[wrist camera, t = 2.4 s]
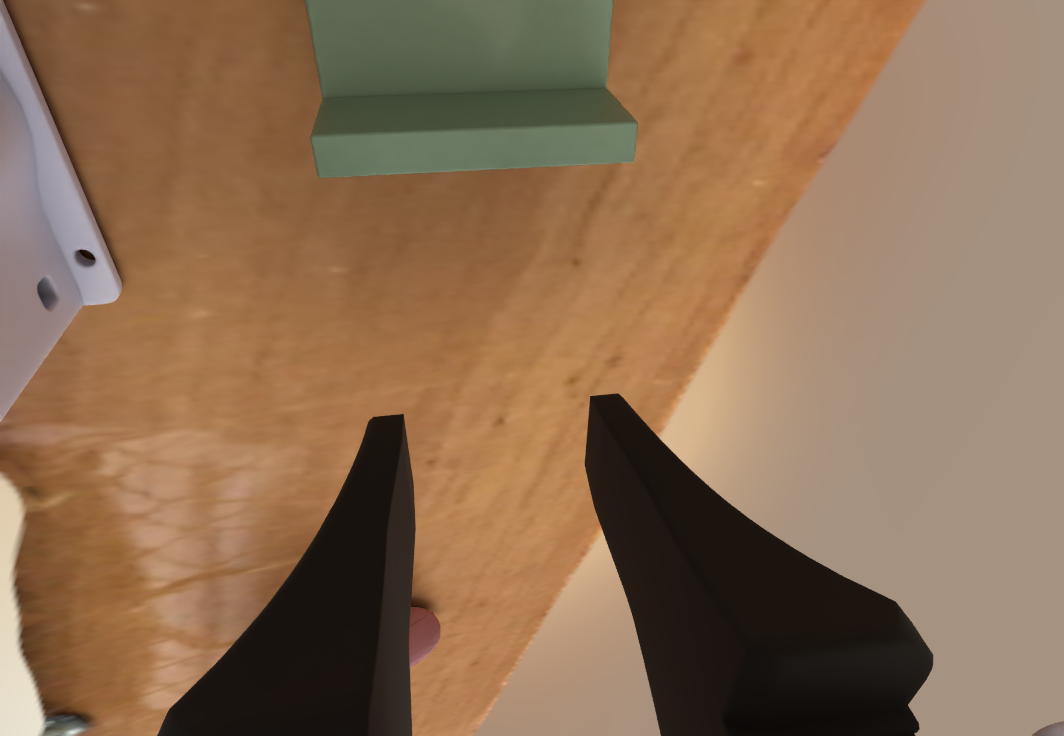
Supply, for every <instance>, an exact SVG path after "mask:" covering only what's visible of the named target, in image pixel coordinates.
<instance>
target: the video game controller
mask: <svg viewBox="0 0 1064 736" xmlns="http://www.w3.org/2000/svg"><path fill="white" fill-rule="evenodd" d="M439 638H440V623H439V621H438V619H437V618H436V616H435V615H434V614H433V612H431V611H429V610H427V609H424V608H420V607H411V611H410V628H409V660H410V668H411V667H412V666H414V665H415V664H417V663H418V662H420V661H421V660H423V659H424V658H425V657H427V656H428V655H429V654H430V653H431V652H432V651H433V649H434V648H435V646H436V645H437V643H438V641H439Z"/></svg>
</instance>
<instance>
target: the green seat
mask: <svg viewBox="0 0 1064 736" xmlns="http://www.w3.org/2000/svg"><path fill="white" fill-rule="evenodd" d="M305 2H306V8H307V13H308V19H309V25H310V30H311V36H312V42H313V47H314V53H315V59H316V65H317V70H318V76H319V82H320V87H321V93H322V102H321V105H320V108H319V111H318V114H317V118H316V121H315V124H314V127H313V130H312V133H311V137H310V139H311V144H312V149H313V154H314V160H315V165H316V170H317V175H318V177H319V178H331V177H352V176H372V175H392V174H412V173H432V172H453V171H473V170H493V169H513V168H534V167H554V166H574V165H594V164H614V163H632V162H633V161H634V157H635V147H636V138H637V128H638V123H637V121H636V120H635V119H634V118H633V117H632V115H631V114H630V113H629V112H628V111H627V110H626V109H625V108H624V107H623V106H622V105H621V103H620V102H619V101H618V100H617V99H616V98H615V97H614V96H613V95H612V94H611V92H610V91H609V90H608V89H607V75H608V62H609V48H610V35H611V21H612V8H613V0H305Z"/></svg>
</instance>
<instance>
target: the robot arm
mask: <svg viewBox="0 0 1064 736" xmlns="http://www.w3.org/2000/svg"><path fill="white" fill-rule="evenodd" d="M80 249H83V250H87V251H89V252H91V253H92V254H93V255H94V257H95V260H90V259H87V258H85V257H83V256H82V254H81V253H80V252H79V250H80ZM122 288H123V287H122V282H121V280H120V277H119V275H118V272H117V270H116V268H115V265H114V263H113V261H112V258H111V256H110V253H109V251H108V249H107V246H106V244H105V241H104V239H103V237H102V234H101V232H100V230H99V227H98V225H97V222H96V220H95V218H94V215H93V213H92V211H91V208H90V206H89V203H88V201H87V199H86V196H85V194H84V192H83V189H82V187H81V184H80V182H79V180H78V177H77V175H76V173H75V170H74V168H73V165H72V163H71V161H70V158H69V156H68V154H67V151H66V149H65V146H64V144H63V142H62V139H61V137H60V134H59V132H58V130H57V127H56V125H55V123H54V120H53V118H52V115H51V113H50V111H49V108H48V106H47V104H46V101H45V99H44V96H43V94H42V92H41V89H40V87H39V85H38V82H37V80H36V77H35V75H34V73H33V70H32V68H31V66H30V63H29V61H28V58H27V56H26V54H25V51H24V49H23V46H22V44H21V42H20V39H19V37H18V35H17V32H16V30H15V27H14V25H13V23H12V20H11V18H10V16H9V13H8V11H7V8H6V6H5V4H4V1H3V0H0V422H1V420H2V419H3V418H4V416H5V415H6V413H7V412H8V410H9V409H10V408H11V406H12V405H13V403H14V402H15V401H16V399H17V398H18V396H19V395H20V394H21V392H22V391H23V389H24V388H25V386H26V385H27V384H28V382H29V381H30V379H31V378H32V377H33V375H34V374H35V372H36V371H37V370H38V368H39V367H40V365H41V364H42V363H43V361H44V360H45V358H46V357H47V355H48V354H49V353H50V351H51V350H52V348H53V347H54V346H55V344H56V343H57V341H58V340H59V339H60V337H61V336H62V334H63V333H64V332H65V330H66V329H67V327H68V326H69V324H70V323H71V322H72V320H73V319H74V317H75V316H76V315H77V313H78V312H79V310H80V309H81V308H82V306H83V305H96V304H107V303H111V302H113V301H115V300H116V299H117V298H118V297H119V295H120V293H121V291H122ZM585 468H586V473H587V477H588V482H589V486H590V491H591V495H592V499H593V504H594V507H595V510H596V513H597V516H598V519H599V522H600V525H601V527H602V530H603V533H604V536H605V539H606V541H607V544H608V547H609V550H610V552H611V555H612V558H613V561H614V563H615V566H616V569H617V572H618V574H619V577H620V580H621V583H622V585H623V588H624V591H625V594H626V597H627V599H628V603H629V606H630V609H631V612H632V616H633V619H634V623H635V627H636V631H637V635H638V639H639V643H640V647H641V651H642V655H643V659H644V663H645V668H646V672H647V676H648V680H649V685H650V688H651V693H652V697H653V701H654V706H655V711H656V715H657V720H658V724H659V729H660V734H661V736H915V734H914V733H916V732H917V731H918V730H919V723H918V721H917V720H916V718H915V716H914V715H913V713H912V711H911V710H910V708H909V706H908V704H909V703H910V701H911V700H912V699H913V697H914V696H915V694H916V693H917V691H918V690H919V689H920V688H921V686H922V685H923V683H924V682H925V681H926V679H927V677H928V676H929V674H930V672H931V670H932V666H933V654H932V652H931V651H930V649H929V648H928V646H927V645H926V643H925V642H924V640H923V639H922V637H921V636H920V634H919V633H918V631H917V630H916V628H915V627H914V625H913V623H912V622H911V621H910V619H909V618H908V617H907V616H906V614H905V613H904V612H903V611H902V609H901V608H900V607H899V605H898V604H897V603H896V602H895V601H893V600H891V599H889V598H887V597H885V596H883V595H881V594H879V593H877V592H875V591H872V590H870V589H868V588H866V587H864V586H862V585H860V584H858V583H856V582H854V581H852V580H850V579H847V578H845V577H843V576H842V575H839V574H838V573H836V572H834V571H832V570H831V569H829V568H827V567H825V566H823V565H822V564H820V563H818V562H816V561H814V560H813V559H811V558H809V557H807V556H806V555H804V554H802V553H801V552H799V551H797V550H796V549H794V548H793V547H791V546H789V545H788V544H786V543H785V542H783V541H782V540H780V539H779V538H777V537H775V536H774V535H772V534H771V533H769V532H767V531H766V530H765V529H763V528H762V527H760V526H759V525H758V524H756V523H755V522H753V521H752V520H750V519H749V518H747V517H746V516H745V515H744V514H742V513H741V512H740V511H738V510H737V509H736V508H735V507H733V506H732V505H731V504H729V503H728V502H727V501H726V500H724V499H723V498H722V497H721V496H720V495H718V494H717V493H716V492H715V491H714V490H713V489H711V488H710V487H709V486H708V485H707V484H706V483H705V482H704V481H702V480H701V479H700V478H699V477H698V476H697V475H696V474H695V473H694V472H692V471H691V470H690V469H689V468H688V467H687V466H686V465H685V464H684V463H683V462H682V461H681V460H680V459H679V458H678V457H677V456H676V455H675V454H674V453H673V452H672V451H671V450H670V449H669V448H668V447H667V446H666V445H665V444H664V443H663V442H662V441H661V440H660V439H659V437H658V436H657V435H656V434H655V433H654V432H653V431H652V430H651V429H650V428H649V427H648V426H647V424H646V423H645V422H644V421H643V420H642V419H641V418H640V417H639V416H638V414H637V413H636V412H635V411H634V410H633V409H632V408H631V406H630V405H629V404H628V403H627V402H626V401H625V399H624V398H623V397H622V396H621V395H619V394H607V395H597V396H590V406H589V419H588V431H587V443H586V455H585ZM415 529H416V527H415V505H414V485H413V477H412V470H411V463H410V456H409V449H408V443H407V436H406V429H405V422H404V415H403V414H400V415H389V416H379V417H373V418H372V419H371V420H370V421H369V422H368V425H367V428H366V432H365V435H364V438H363V441H362V443H361V446H360V449H359V451H358V454H357V456H356V458H355V461H354V463H353V466H352V468H351V470H350V472H349V474H348V476H347V478H346V481H345V483H344V485H343V487H342V489H341V491H340V493H339V495H338V497H337V499H336V501H335V503H334V505H333V506H332V508H331V510H330V512H329V514H328V515H327V517H326V519H325V521H324V522H323V524H322V526H321V528H320V530H319V531H318V533H317V535H316V536H315V538H314V539H313V541H312V543H311V544H310V546H309V547H308V549H307V551H306V552H305V554H304V555H303V557H302V558H301V560H300V561H299V563H298V564H297V565H296V567H295V568H294V570H293V571H292V573H291V574H290V575H289V577H288V578H287V579H286V581H285V582H284V583H283V585H282V586H281V587H280V589H279V590H278V592H277V593H276V594H275V596H274V597H273V598H272V600H271V601H270V602H269V603H268V605H267V606H266V607H265V608H264V610H263V611H262V612H261V613H260V614H259V616H258V617H257V618H256V619H255V620H254V621H253V623H252V624H251V625H250V626H249V627H248V628H247V629H246V631H245V632H244V633H243V634H242V635H241V636H240V637H239V639H238V640H237V641H236V642H235V643H234V644H233V645H232V646H231V648H230V649H229V650H228V651H227V652H226V653H225V654H224V655H223V656H222V658H221V659H220V660H219V661H218V662H217V663H216V664H215V665H214V666H213V667H212V668H211V669H210V670H209V671H208V672H207V673H206V674H205V675H204V676H203V677H202V678H201V679H200V680H199V681H198V682H197V683H196V684H195V685H194V686H193V687H192V688H191V689H190V690H189V691H188V692H187V693H186V694H185V695H184V696H183V697H182V698H181V699H180V700H179V701H178V702H176V703H175V704H174V705H173V706H172V707H171V708H170V709H169V711H168V713H167V715H166V717H165V719H164V722H163V724H162V726H161V728H160V731H159V733H158V735H157V736H412V718H411V691H410V660H409V628H410V611H411V595H412V579H413V563H414V546H415ZM1032 736H1064V721H1063V722H1058V723H1055V724H1051V725H1049V726H1046V727H1044V728H1042V729H1040V730H1038V731H1037V732H1036V733H1034V734H1033V735H1032Z"/></svg>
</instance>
